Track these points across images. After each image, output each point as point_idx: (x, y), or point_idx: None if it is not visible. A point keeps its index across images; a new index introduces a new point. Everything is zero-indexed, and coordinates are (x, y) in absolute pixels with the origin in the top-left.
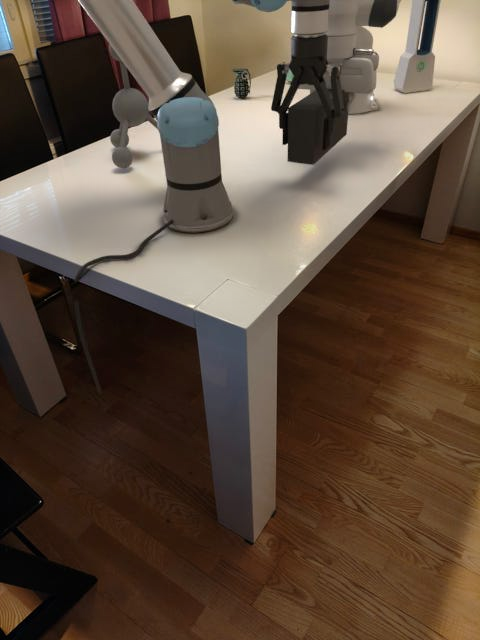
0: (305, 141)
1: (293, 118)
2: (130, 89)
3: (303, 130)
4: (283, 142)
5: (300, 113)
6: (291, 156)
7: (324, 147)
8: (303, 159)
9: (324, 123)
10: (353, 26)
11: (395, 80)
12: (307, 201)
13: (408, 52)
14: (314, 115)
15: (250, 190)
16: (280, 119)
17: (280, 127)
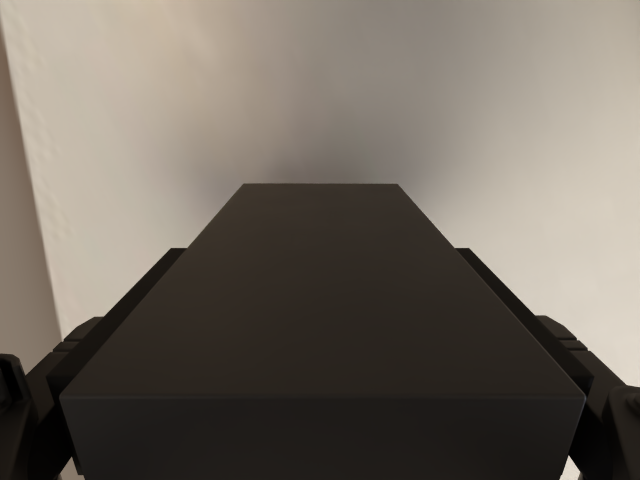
0: (282, 220)
1: (431, 308)
2: None
3: (297, 253)
4: (467, 253)
5: (342, 351)
6: (378, 190)
7: (172, 253)
8: (301, 188)
9: (95, 349)
10: None
11: None
12: (239, 54)
13: None
14: (118, 341)
15: (522, 68)
16: (590, 365)
17: (546, 321)
